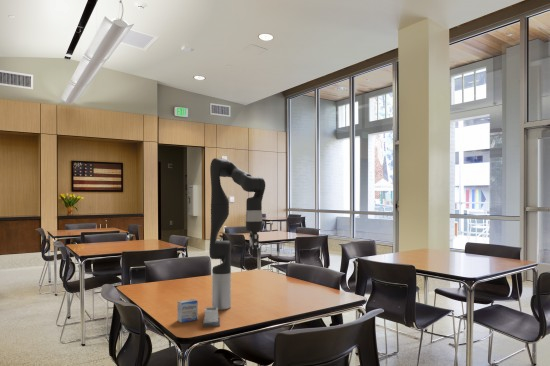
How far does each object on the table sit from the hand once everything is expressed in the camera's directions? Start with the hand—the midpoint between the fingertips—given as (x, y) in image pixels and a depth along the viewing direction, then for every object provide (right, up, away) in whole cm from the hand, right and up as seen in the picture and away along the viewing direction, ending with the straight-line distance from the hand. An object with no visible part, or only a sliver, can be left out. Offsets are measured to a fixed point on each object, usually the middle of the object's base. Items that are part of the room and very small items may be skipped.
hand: (254, 256), depth 177 cm
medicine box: (-30, -28, -3) cm, 41 cm away
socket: (-18, -26, -8) cm, 33 cm away
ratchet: (-19, -28, -4) cm, 34 cm away
